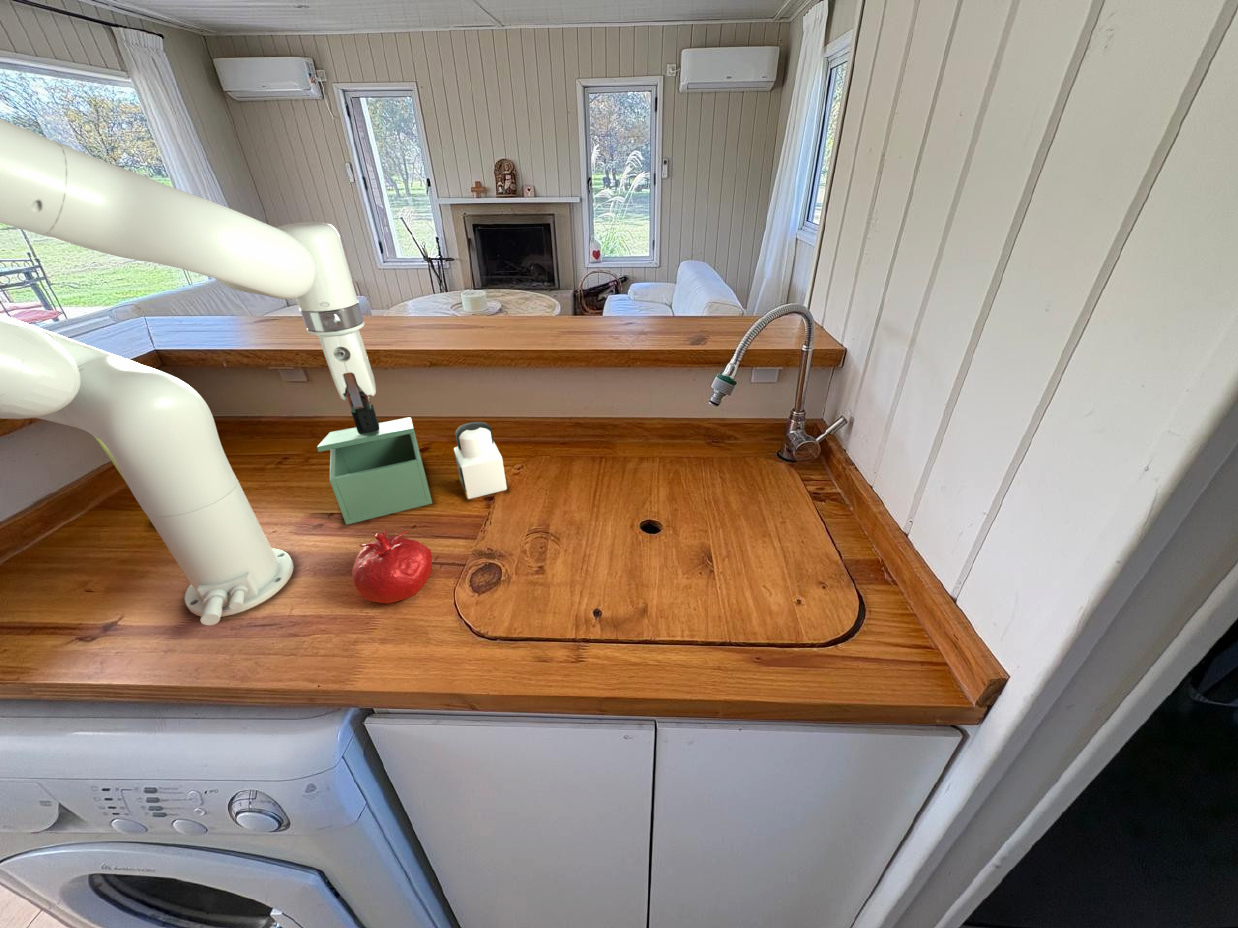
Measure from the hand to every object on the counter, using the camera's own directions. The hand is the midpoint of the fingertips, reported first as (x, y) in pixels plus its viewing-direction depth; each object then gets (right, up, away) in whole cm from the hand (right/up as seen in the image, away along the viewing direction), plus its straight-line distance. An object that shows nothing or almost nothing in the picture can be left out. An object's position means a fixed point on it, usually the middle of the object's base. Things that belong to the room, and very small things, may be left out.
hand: (369, 430), depth 81 cm
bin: (-1, -10, +8) cm, 13 cm away
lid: (-1, -1, +2) cm, 3 cm away
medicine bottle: (+16, -10, +10) cm, 21 cm away
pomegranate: (+10, -23, -12) cm, 28 cm away
